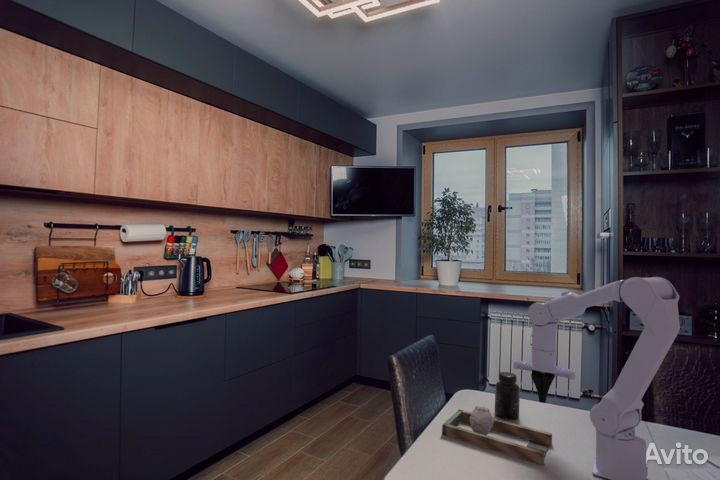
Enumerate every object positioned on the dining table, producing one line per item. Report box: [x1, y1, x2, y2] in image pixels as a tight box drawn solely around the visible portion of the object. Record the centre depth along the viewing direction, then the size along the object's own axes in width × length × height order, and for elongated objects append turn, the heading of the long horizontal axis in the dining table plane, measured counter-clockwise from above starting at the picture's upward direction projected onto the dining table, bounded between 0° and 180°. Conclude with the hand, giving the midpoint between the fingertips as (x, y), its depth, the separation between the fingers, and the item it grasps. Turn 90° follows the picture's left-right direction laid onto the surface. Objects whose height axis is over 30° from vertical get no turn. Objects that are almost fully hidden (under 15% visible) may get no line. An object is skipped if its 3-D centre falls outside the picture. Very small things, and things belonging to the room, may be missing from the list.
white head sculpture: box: [469, 405, 494, 436], centre depth 104 cm, size 6×7×7 cm
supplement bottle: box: [494, 371, 521, 421], centre depth 117 cm, size 7×7×12 cm
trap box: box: [441, 409, 553, 466], centre depth 102 cm, size 24×12×2 cm, turn 56°
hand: (542, 401), depth 103 cm, fingers closed
